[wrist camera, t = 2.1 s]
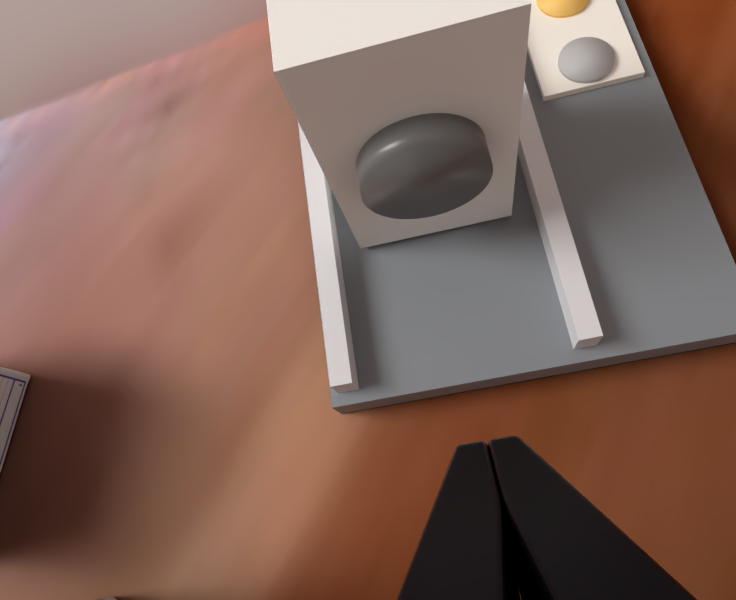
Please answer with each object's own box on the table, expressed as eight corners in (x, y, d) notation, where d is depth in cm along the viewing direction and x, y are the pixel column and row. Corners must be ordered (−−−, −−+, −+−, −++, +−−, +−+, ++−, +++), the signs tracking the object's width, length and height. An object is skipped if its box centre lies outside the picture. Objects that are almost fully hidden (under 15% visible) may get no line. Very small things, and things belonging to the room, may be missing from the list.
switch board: (743, 341, 20) (780, 318, 18) (341, 413, 22) (323, 402, 20) (598, -19, 27) (610, -72, 24) (297, 61, 29) (279, 20, 26)
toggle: (517, 238, 21) (542, 37, 12) (363, 271, 22) (277, 105, 13) (483, 111, 24) (482, -142, 14) (344, 145, 24) (258, -74, 15)
